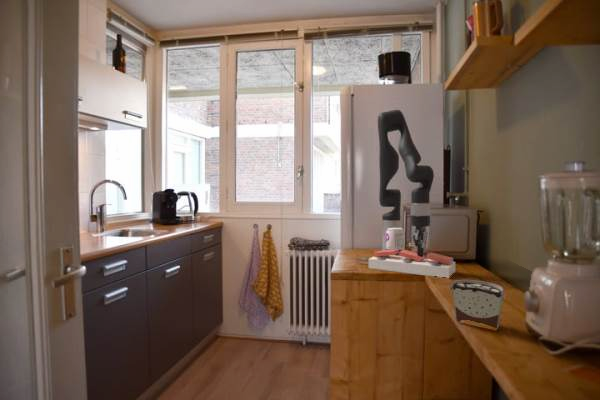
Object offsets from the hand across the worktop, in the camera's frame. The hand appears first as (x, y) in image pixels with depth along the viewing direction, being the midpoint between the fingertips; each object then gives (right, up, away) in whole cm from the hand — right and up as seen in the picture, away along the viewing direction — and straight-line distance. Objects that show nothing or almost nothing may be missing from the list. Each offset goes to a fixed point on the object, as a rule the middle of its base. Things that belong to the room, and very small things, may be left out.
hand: (420, 256), depth 142 cm
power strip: (-7, -6, +3) cm, 10 cm away
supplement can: (-5, -5, +21) cm, 22 cm away
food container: (-5, -8, -55) cm, 56 cm away
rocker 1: (-12, 0, +8) cm, 15 cm away
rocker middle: (-3, 0, +2) cm, 4 cm away
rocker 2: (+6, 0, -4) cm, 7 cm away
